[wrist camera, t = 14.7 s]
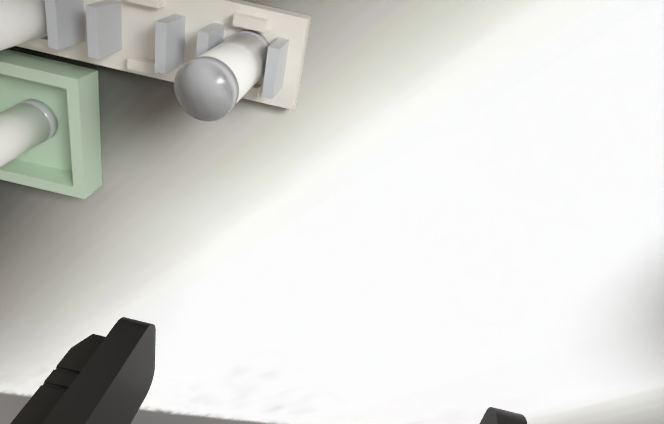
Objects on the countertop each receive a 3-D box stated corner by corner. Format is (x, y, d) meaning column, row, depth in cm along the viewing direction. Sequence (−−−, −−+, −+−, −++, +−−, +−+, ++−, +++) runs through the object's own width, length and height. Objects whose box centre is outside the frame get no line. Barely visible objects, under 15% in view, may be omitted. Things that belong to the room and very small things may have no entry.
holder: (5, -54, 39) (-45, -51, 35) (311, 15, 39) (298, 27, 35) (16, 39, 43) (-28, 52, 39) (296, 104, 42) (283, 124, 38)
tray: (-28, 41, 44) (-56, 48, 41) (97, 70, 43) (77, 79, 41) (-10, 158, 49) (-34, 171, 46) (102, 184, 49) (84, 199, 46)
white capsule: (227, 24, 39) (175, 53, 30) (276, 35, 38) (236, 67, 30) (223, 73, 40) (172, 113, 32) (269, 83, 40) (231, 127, 32)
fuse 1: (22, -23, 39) (-90, -8, 30) (69, -12, 39) (-29, 6, 30) (27, 28, 41) (-77, 56, 32) (72, 38, 41) (-19, 69, 32)
